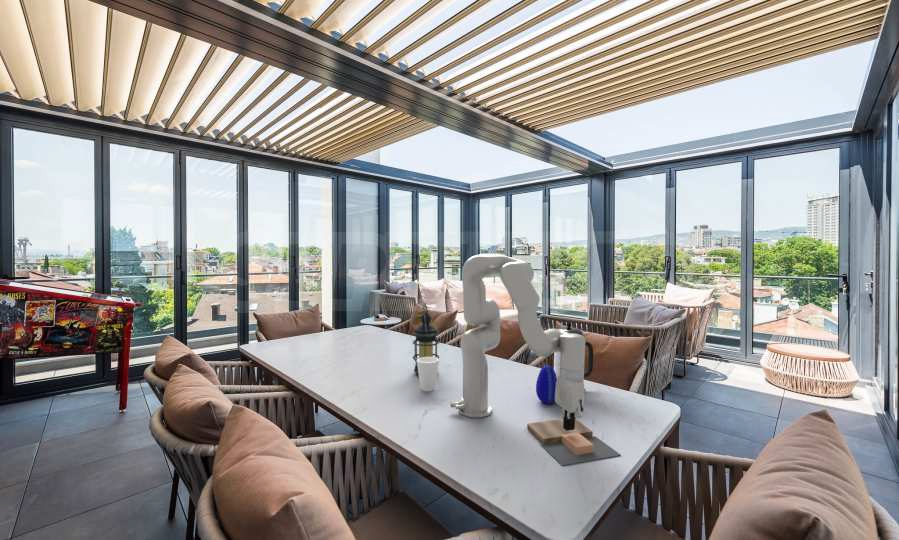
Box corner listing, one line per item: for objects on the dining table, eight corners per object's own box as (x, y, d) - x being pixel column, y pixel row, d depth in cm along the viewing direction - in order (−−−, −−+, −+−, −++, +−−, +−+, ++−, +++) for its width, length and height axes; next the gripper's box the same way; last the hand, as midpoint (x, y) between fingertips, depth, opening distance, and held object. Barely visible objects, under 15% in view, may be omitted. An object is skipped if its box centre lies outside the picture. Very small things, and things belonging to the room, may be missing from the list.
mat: (562, 466, 110) (562, 465, 110) (540, 445, 122) (541, 444, 122) (620, 455, 116) (620, 454, 116) (595, 436, 127) (595, 436, 127)
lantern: (438, 378, 185) (438, 305, 183) (411, 377, 185) (410, 305, 183) (439, 368, 199) (439, 301, 197) (414, 368, 199) (414, 301, 197)
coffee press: (583, 399, 159) (585, 327, 157) (545, 391, 167) (546, 323, 166) (592, 386, 174) (594, 320, 172) (557, 380, 182) (558, 317, 180)
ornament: (560, 408, 150) (561, 370, 149) (535, 406, 152) (536, 369, 151) (558, 398, 161) (558, 362, 160) (535, 396, 162) (536, 361, 162)
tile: (576, 455, 115) (576, 447, 115) (561, 442, 123) (561, 434, 123) (593, 452, 117) (593, 444, 117) (577, 439, 125) (578, 432, 125)
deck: (543, 445, 122) (543, 438, 122) (527, 429, 132) (527, 423, 132) (592, 437, 127) (592, 431, 127) (572, 422, 138) (572, 417, 137)
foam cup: (413, 390, 168) (413, 361, 168) (422, 383, 177) (422, 355, 176) (433, 393, 165) (433, 363, 164) (441, 386, 173) (441, 358, 172)
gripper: (548, 366, 128) (546, 419, 130) (575, 382, 114) (572, 442, 115) (568, 364, 131) (565, 417, 132) (596, 380, 116) (593, 439, 118)
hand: (568, 428), depth 124 cm, fingers closed
